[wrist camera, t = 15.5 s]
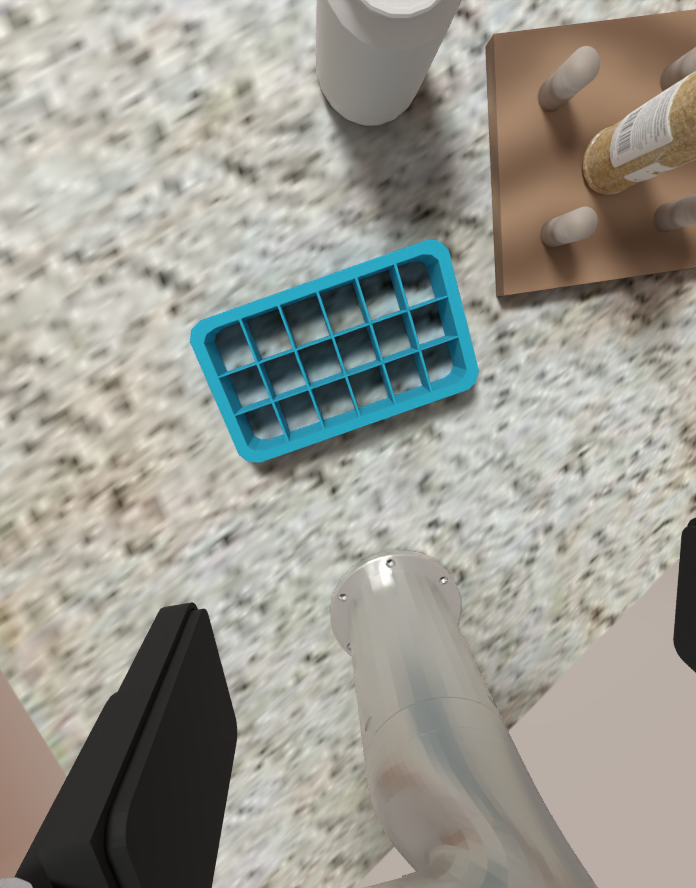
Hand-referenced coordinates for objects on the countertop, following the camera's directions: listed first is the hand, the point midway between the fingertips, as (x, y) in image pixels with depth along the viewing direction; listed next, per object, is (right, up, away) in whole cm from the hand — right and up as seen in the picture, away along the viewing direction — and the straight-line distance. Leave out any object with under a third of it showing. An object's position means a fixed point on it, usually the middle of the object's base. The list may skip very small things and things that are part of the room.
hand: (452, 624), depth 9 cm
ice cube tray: (-3, +11, +29) cm, 31 cm away
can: (-1, +30, +23) cm, 38 cm away
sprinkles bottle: (+17, +24, +25) cm, 39 cm away
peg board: (+17, +25, +26) cm, 40 cm away
